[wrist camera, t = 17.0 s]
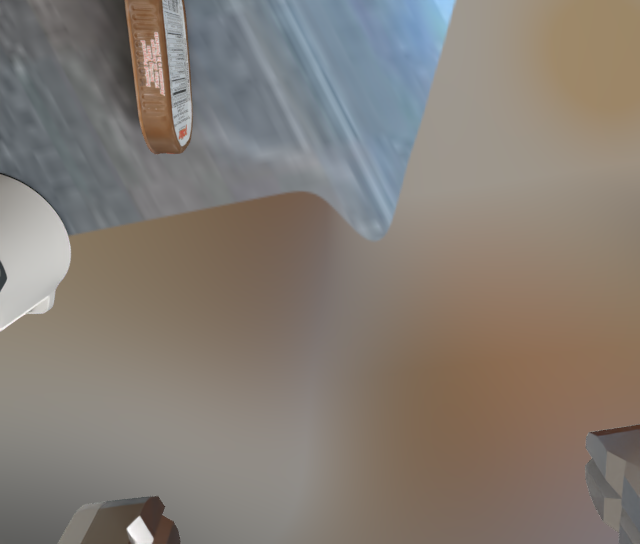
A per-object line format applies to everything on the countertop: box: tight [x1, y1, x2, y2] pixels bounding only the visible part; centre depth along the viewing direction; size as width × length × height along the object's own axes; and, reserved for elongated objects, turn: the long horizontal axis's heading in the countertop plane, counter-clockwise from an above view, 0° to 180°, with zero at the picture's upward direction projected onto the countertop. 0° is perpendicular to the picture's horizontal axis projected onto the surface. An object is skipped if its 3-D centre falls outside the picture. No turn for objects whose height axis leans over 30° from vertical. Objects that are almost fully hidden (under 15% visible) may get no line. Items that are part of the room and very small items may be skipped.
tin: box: [124, 0, 193, 154], centre depth 37 cm, size 15×3×8 cm, turn 177°
